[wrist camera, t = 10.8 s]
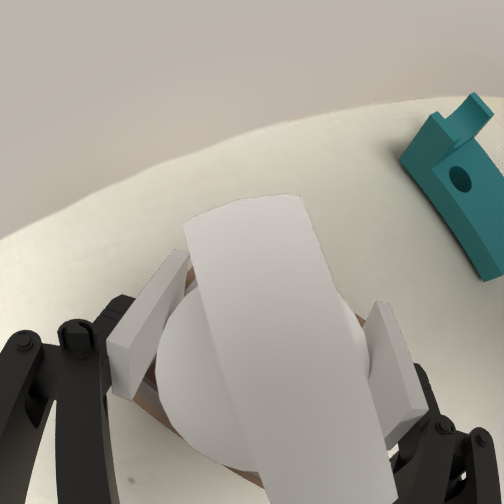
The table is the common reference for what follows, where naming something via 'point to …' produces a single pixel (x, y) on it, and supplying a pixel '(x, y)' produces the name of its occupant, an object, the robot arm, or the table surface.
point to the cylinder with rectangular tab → (272, 360)
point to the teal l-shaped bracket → (462, 182)
